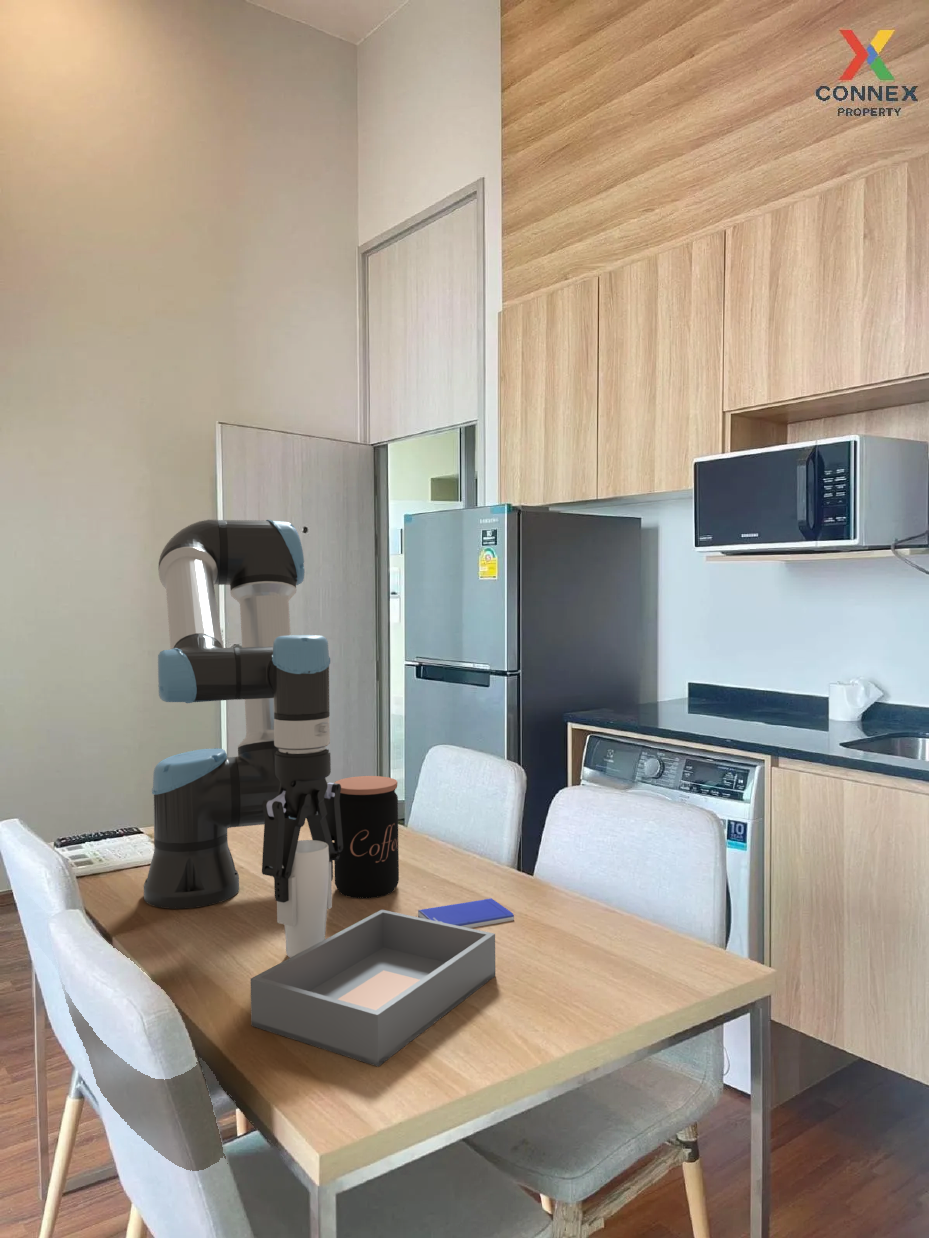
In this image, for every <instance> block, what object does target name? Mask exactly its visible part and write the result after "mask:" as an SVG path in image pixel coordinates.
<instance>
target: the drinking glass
mask: <svg viewBox="0 0 929 1238" xmlns="http://www.w3.org/2000/svg"><path fill="white" fill-rule="evenodd" d="M282 868H284V867H283V865H282ZM329 871H330V865H329V846H328V844H327V843H325V842H322V841H317V840H312V839H303V840H302V839H301V840H298V843H297V848H296V853H295V858H294V862H293V867H292V872H291V876H296V925H295V926H289V925H284V924H283V926H284V934H285V935H284V936H285V953H286V956H288V959H289V958H291V957H293V956H295V955H296V954H298V953H300V952H302V951H304V950H306V949H308V948H310V947H312V946H314V945H315V944H317V943H319V942H321V941H323V940H325V939H326V929H327V918H328V917H327V914H328V909H327V903H328V890H329Z"/></svg>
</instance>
